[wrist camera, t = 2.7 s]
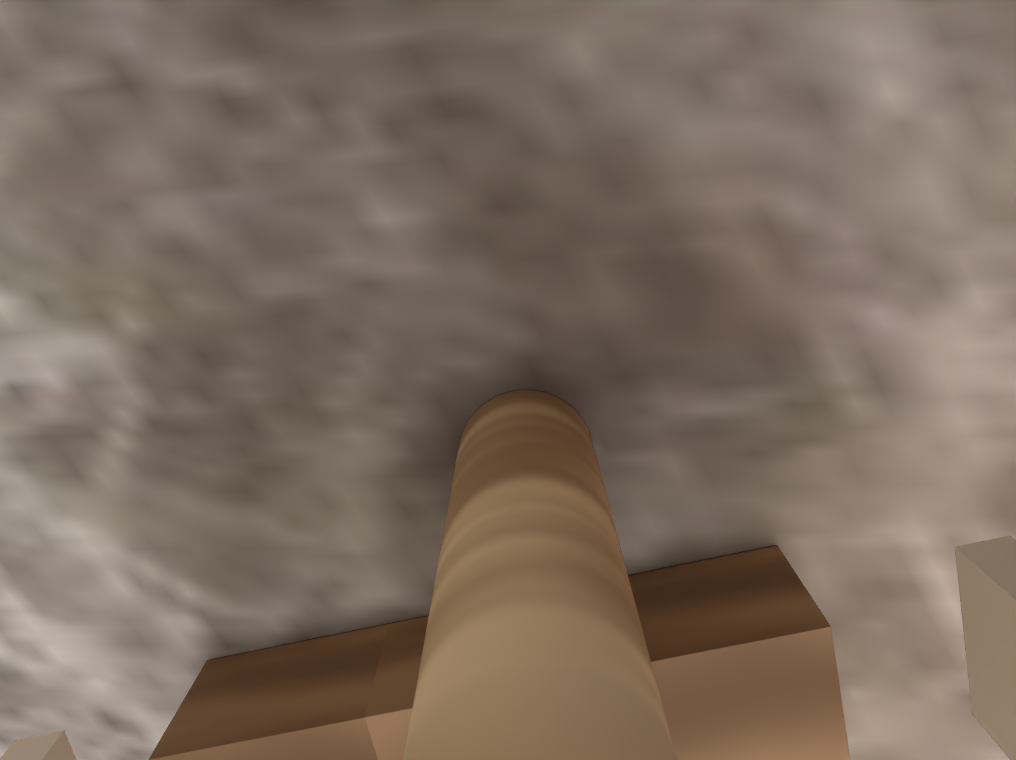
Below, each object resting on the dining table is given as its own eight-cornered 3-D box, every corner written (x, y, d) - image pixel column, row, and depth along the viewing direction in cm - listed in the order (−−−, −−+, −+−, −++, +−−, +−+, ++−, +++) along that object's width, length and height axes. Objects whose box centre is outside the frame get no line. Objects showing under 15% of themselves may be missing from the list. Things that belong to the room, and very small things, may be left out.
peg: (444, 405, 22) (368, 697, 10) (578, 376, 22) (652, 641, 10) (475, 528, 23) (439, 922, 11) (604, 501, 23) (701, 875, 11)
